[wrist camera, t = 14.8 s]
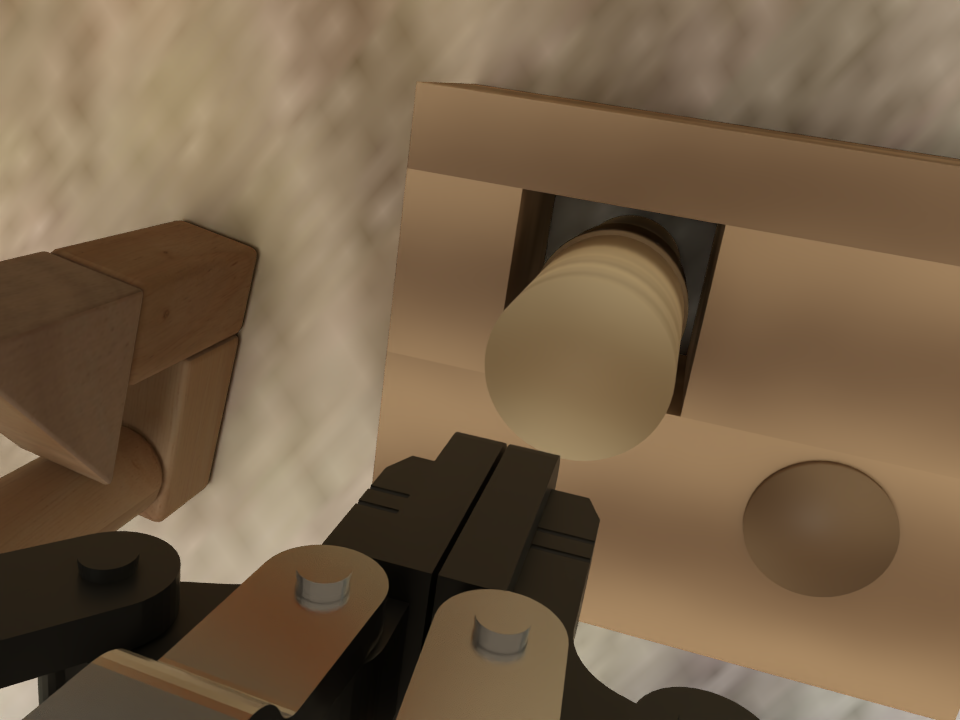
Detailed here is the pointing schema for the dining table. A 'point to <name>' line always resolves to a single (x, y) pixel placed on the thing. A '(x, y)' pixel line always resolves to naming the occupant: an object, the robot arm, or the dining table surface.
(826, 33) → the dining table surface
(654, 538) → the seat block
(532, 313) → the peg
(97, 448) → the wooden block
